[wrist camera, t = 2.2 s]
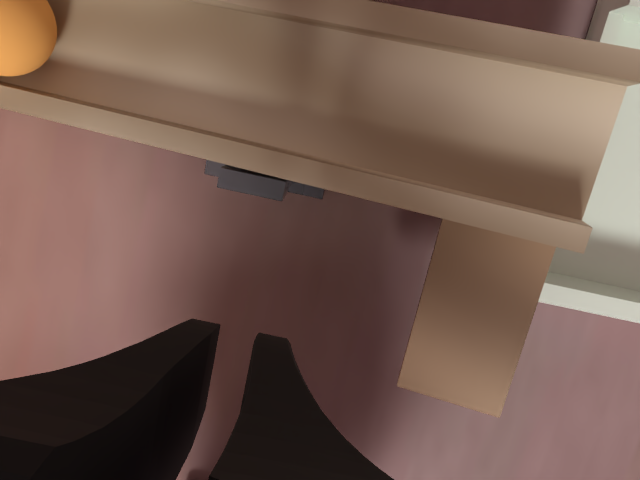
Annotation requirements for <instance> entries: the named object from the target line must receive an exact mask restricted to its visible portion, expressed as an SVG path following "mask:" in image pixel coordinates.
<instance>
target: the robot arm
mask: <svg viewBox="0 0 640 480" xmlns="http://www.w3.org/2000/svg"><path fill="white" fill-rule="evenodd" d="M219 330H220V324H215V323H210V322H205V321H201V320H196V319H190V320H187V321H185V322H183V323H180V324H178V325H176V326H174V327H172V328H170V329H168V330H166V331H164V332H161V333H159V334H157V335H155V336H153V337H150V338H148V339H146V340H144V341H142V342H139V343H137V344H134V345H132V346H129V347H127V348H124V349H122V350H119V351H116V352H114V353H111V354H109V355H106V356H104V357H101V358H98V359H95V360H92V361H88V362H85V363H82V364H78V365H74V366H71V367H67V368H63V369H59V370H55V371H51V372H46V373H41V374H35V375H30V376H25V377H19V378H14V379H8V380H3V381H0V480H176V478H177V476H178V474H179V472H180V470H181V468H182V466H183V464H184V462H185V460H186V458H187V456H188V454H189V452H190V450H191V448H192V445H193V442H194V440H195V437H196V434H197V431H198V429H199V426H200V423H201V420H202V417H203V414H204V411H205V408H206V402H207V397H208V391H209V386H210V380H211V374H212V369H213V363H214V358H215V352H216V347H217V341H218V336H219ZM209 480H394V479H392V478H391V477H390V476H388V475H387V474H386V473H384V472H383V471H382V470H380V469H379V468H378V467H376V466H375V465H374V464H373V463H371V462H370V461H369V460H368V459H367V458H365V457H364V456H363V455H362V454H361V453H360V452H359V451H358V450H357V449H356V448H355V447H354V446H352V445H351V444H350V443H349V442H348V441H347V440H346V439H345V438H344V437H343V436H342V435H341V433H340V432H339V431H338V430H337V429H336V428H335V427H334V425H333V424H332V423H331V422H330V421H329V419H328V418H327V417H326V416H325V414H324V413H323V412H322V410H321V409H320V407H319V406H318V404H317V403H316V401H315V399H314V398H313V396H312V394H311V393H310V391H309V389H308V387H307V385H306V383H305V381H304V379H303V377H302V375H301V373H300V371H299V368H298V366H297V363H296V361H295V358H294V355H293V352H292V348H291V344H290V342H289V341H288V339H287V338H282V337H277V336H272V335H268V334H263V333H258V335H257V337H256V339H255V341H254V345H253V350H252V355H251V360H250V365H249V370H248V375H247V380H246V385H245V390H244V395H243V400H242V405H241V410H240V415H239V417H238V420H237V422H236V424H235V427H234V429H233V432H232V434H231V436H230V438H229V441H228V443H227V445H226V447H225V449H224V451H223V453H222V455H221V457H220V459H219V460H218V462H217V464H216V466H215V467H214V469H213V471H212V472H211V474H210V475H209Z"/></svg>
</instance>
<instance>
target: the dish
mask: <svg viewBox="0 0 640 480" xmlns="http://www.w3.org/2000/svg"><path fill="white" fill-rule="evenodd" d="M585 40H591V41H596V42H602V43H607V44H613V45H618V46H624V47H629V48H635V49H640V0H598V1H597V5H596V8H595V11H594V14H593V17H592V20H591V24H590V27H589V30H588V33H587V36H586V39H585ZM582 221H584V222H585V223H587V224H588V225H589V226H591V227H592V228H593V229H592V231H591V234H590V237H589V240H588V243H587V246H586V249H585V252H584V254H582V253H578V252H574V251H570V250H566V249H562V248H558V247H556V249H555V252H554V255H553V258H552V261H551V264H550V267H549V270H548V273H547V276H546V279H545V282H544V285H543V288H542V291H541V294H540V297H539V300H538V302H542V303H547V304H552V305H556V306H561V307H566V308H570V309H575V310H580V311H584V312H589V313H594V314H598V315H603V316H608V317H613V318H617V319H622V320H627V321H631V322H636V323H640V83H639V84H635V85H631V86H627V89H626V92H625V95H624V98H623V101H622V104H621V107H620V110H619V113H618V116H617V119H616V121H615V124H614V127H613V130H612V133H611V136H610V139H609V142H608V145H607V148H606V151H605V154H604V157H603V160H602V163H601V166H600V168H599V171H598V174H597V177H596V180H595V183H594V186H593V189H592V192H591V195H590V198H589V201H588V204H587V207H586V210H585V213H584V216H583V218H582Z"/></svg>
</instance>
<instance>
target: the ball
mask: <svg viewBox="0 0 640 480" xmlns="http://www.w3.org/2000/svg"><path fill="white" fill-rule="evenodd" d="M56 40H57V25H56V20H55V16H54V13H53V11H52V8H51V7H50V5H49V3H48V1H47V0H0V76H20V75H24V74H27V73H30V72H32V71H34V70H36V69H38V68H39V67H41V66H42V65H43V64H44V63H45V62H46V61H47V60H48V59H49V57H50V56H51V54H52V52H53V50H54V47H55V44H56Z"/></svg>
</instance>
